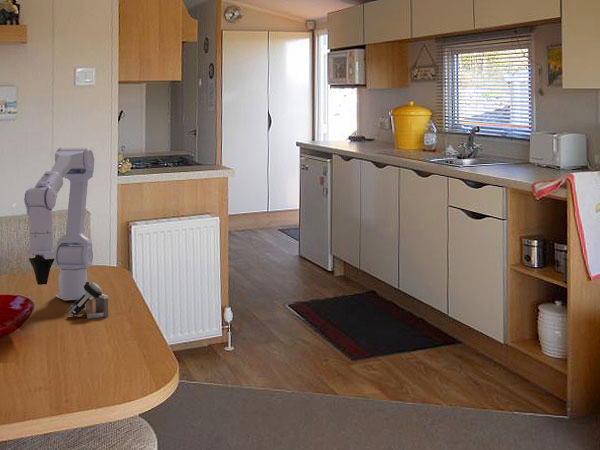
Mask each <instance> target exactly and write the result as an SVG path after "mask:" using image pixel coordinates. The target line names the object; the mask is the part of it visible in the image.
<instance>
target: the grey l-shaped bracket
mask: <svg viewBox="0 0 600 450" xmlns="http://www.w3.org/2000/svg"><path fill="white" fill-rule="evenodd" d="M92 299H95V300H96V313H90V314H87V313H86V308H84V309H83V310H81V311H80V313H79V314H83V313H84V314H86V319H87V320H89V319H97V318H109V295H106V294H104V293H102V295H101V296H99V297H98V298H93V297H92Z"/></svg>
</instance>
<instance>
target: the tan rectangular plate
mask: <svg viewBox="0 0 600 450" xmlns="http://www.w3.org/2000/svg"><path fill="white" fill-rule="evenodd" d="M85 309H86V312H85V314H86V315H87V314H90V313H97V312H96V300H95V299H93V297H92V298H90V299H89V300H88V301H87V303H86V304H85Z"/></svg>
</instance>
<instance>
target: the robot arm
mask: <svg viewBox="0 0 600 450" xmlns="http://www.w3.org/2000/svg"><path fill="white" fill-rule="evenodd" d="M51 168H52V169H51V170H48V171H45V172H44V173H43V175H42V176H41V177H40V178H39V180H38V181H37V183H36V184H35V186H34V187H30V188H28V189H26V190H25V193H24V198H23V202H24V203H23V204H24V205H25V208H26V215H27V216H28V224H29V225H28V228H29V229H28V231H29V233H28V234H29V249H25V250H24V253H25V254H30V256H34V257H29V258H28V261H29V263H30V264H31V266H32V269H33V272H34V276H35V280H36V283H37V285H38V286H39V285H47V284H48V280H49V276H50V271H51V268H52V265H53V263H55V265H56V266H57V267H58V269H60V271H59V274H58V294H56V295H55V297H56V298H58V299H61V300H62V301H76V300H79V299H80V298H81V297H82V296H83V295H84V294H85V293H86V292H85V291H84V285H85V284H86V282H88V272H87V271H88V269H87V268H89V267H90V266H91V264H92V263H93V259H94V252H93V251H94V250H93V243H92V241H91V240H90V239H89V238H88V237H87V236H86V235H85V234H84V231H85V222H86V221H85V220H86V218H85V217H86V208H87V199H88V198H87V195H88V186H89V185H88V183H89V180H90V179H91V178H93V177H94V176H93V175H94V168H95V157H94V153H93V151H92V150H91V148H90V147H82V148H81V147H77V148H74V147H73V148H71V147H69V148H68V147H67V148H63V147H59V148H57V150H56V151H55V153H54V164H53V166H52V167H51ZM64 179H67V180H69V183H70V184H69V194H68V196H69V197H68V207H67V219H66V227H65V228H66V229H65V233H64V235H62V236H61V237H60V238H58V239H57V242H56V247H55V249H54V246H53V245H54V241H53V240H54V239H53V237H54V236H53V210H54V208H55V206H56V204H57V198H58V193H59V191H60V189H61V188H62V187H63V186H64ZM90 298H92V299H93V297H90Z"/></svg>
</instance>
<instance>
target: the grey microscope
mask: <svg viewBox="0 0 600 450" xmlns="http://www.w3.org/2000/svg"><path fill="white" fill-rule="evenodd" d="M84 291H85V292H86V293H85V294H84V295H83V296H82V297H81V298H80V299H77V300H74V302H73V304H71V305H70V307H72V308H71V309H69V310H68V311H69V312H68V314H69V315H70V316H71V317H75V318H77V317H78V316H79V315H80V314H81V313H80V311H81V310H83V309H86V303H87V301H88V300H89V299H90V297H92V299H93V298H98V297H99V296H101V295H102V294H103V293H102V291H103V289H102V287H101V286H100V285H99V284H97V283H96V282H95V281H93V280H91V281H90V282H89V281H87V282H86V284H85V285H84Z"/></svg>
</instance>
